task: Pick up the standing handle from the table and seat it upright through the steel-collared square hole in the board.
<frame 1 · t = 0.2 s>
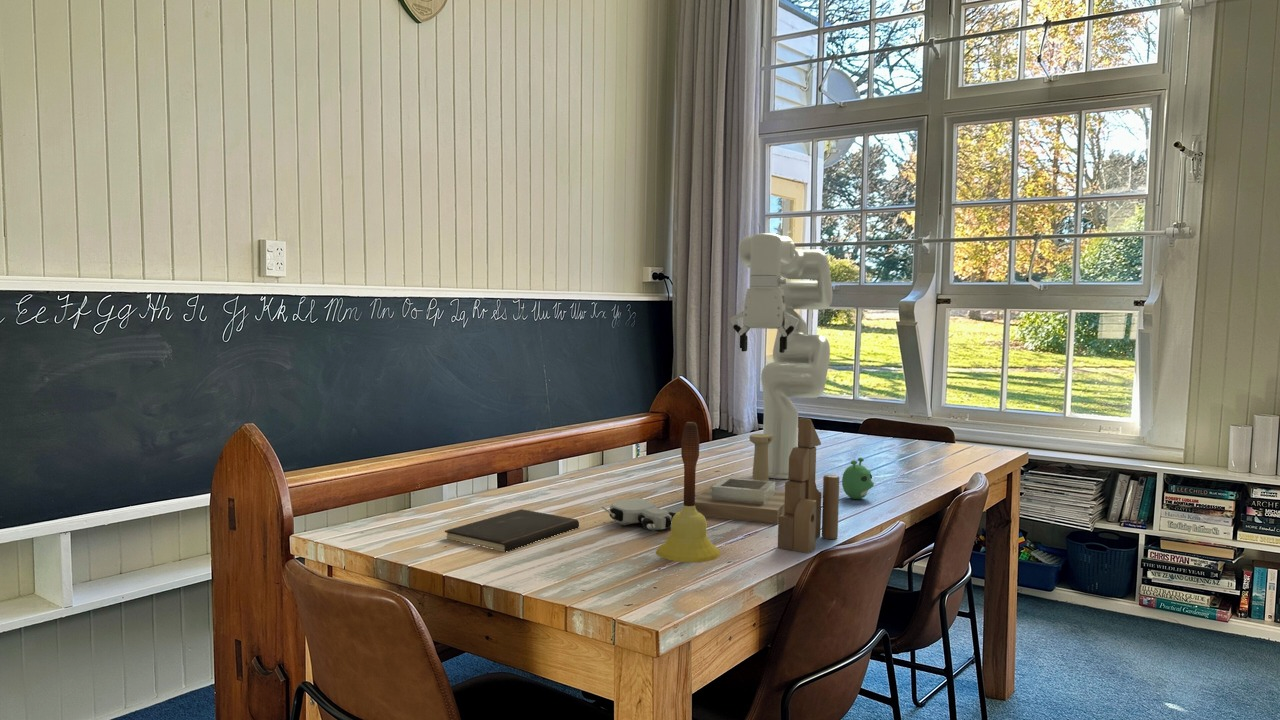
hand: (763, 351, 221), 36 cm above the table, tool pointing down, fingers open, 9 cm apart
board: (743, 509, 204), on the table
handbell: (688, 553, 168), on the table
hardcover book: (513, 537, 180), on the table
collar: (743, 490, 204), on the board, point 4 cm above the table
alien toy: (857, 499, 217), on the table
handle: (760, 496, 220), on the table
wooden toy: (809, 543, 177), on the table
robot toy: (643, 527, 188), on the table
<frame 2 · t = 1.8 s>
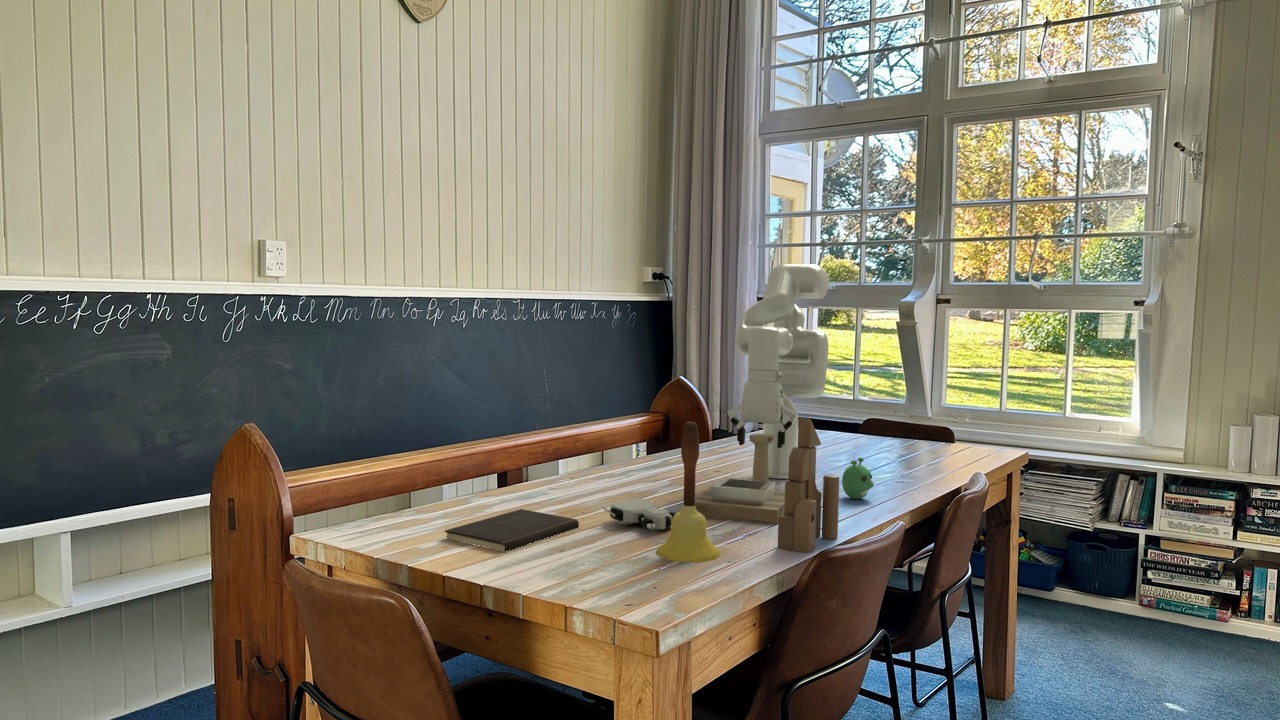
hand: (760, 446, 218), 12 cm above the table, tool pointing down, fingers open, 9 cm apart
nothing on the table moved.
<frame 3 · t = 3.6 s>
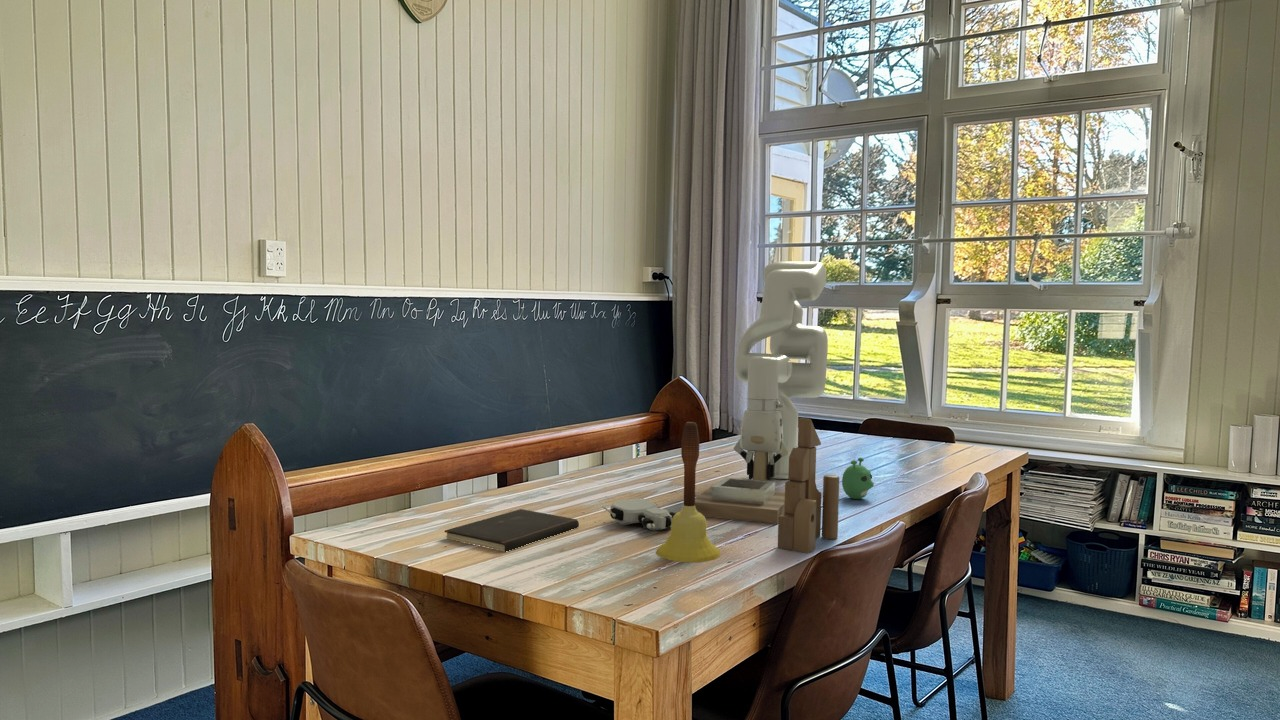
hand: (760, 478, 220), 4 cm above the table, tool pointing down, fingers closed on handle, 4 cm apart
handle: (760, 496, 220), on the table, touching gripper
everything else where it was.
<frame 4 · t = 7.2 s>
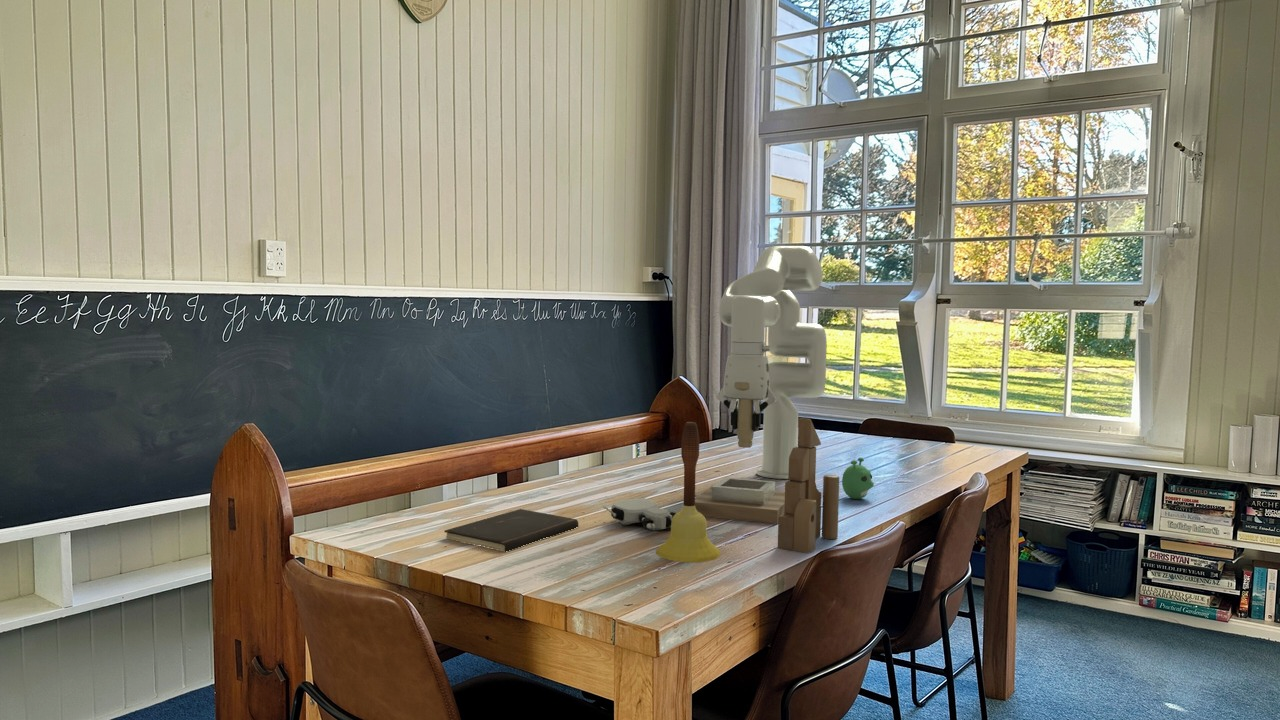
hand: (745, 428, 203), 19 cm above the table, tool pointing down, fingers closed on handle, 4 cm apart
handle: (745, 447, 203), point 14 cm above the table, touching gripper
everything else where it was.
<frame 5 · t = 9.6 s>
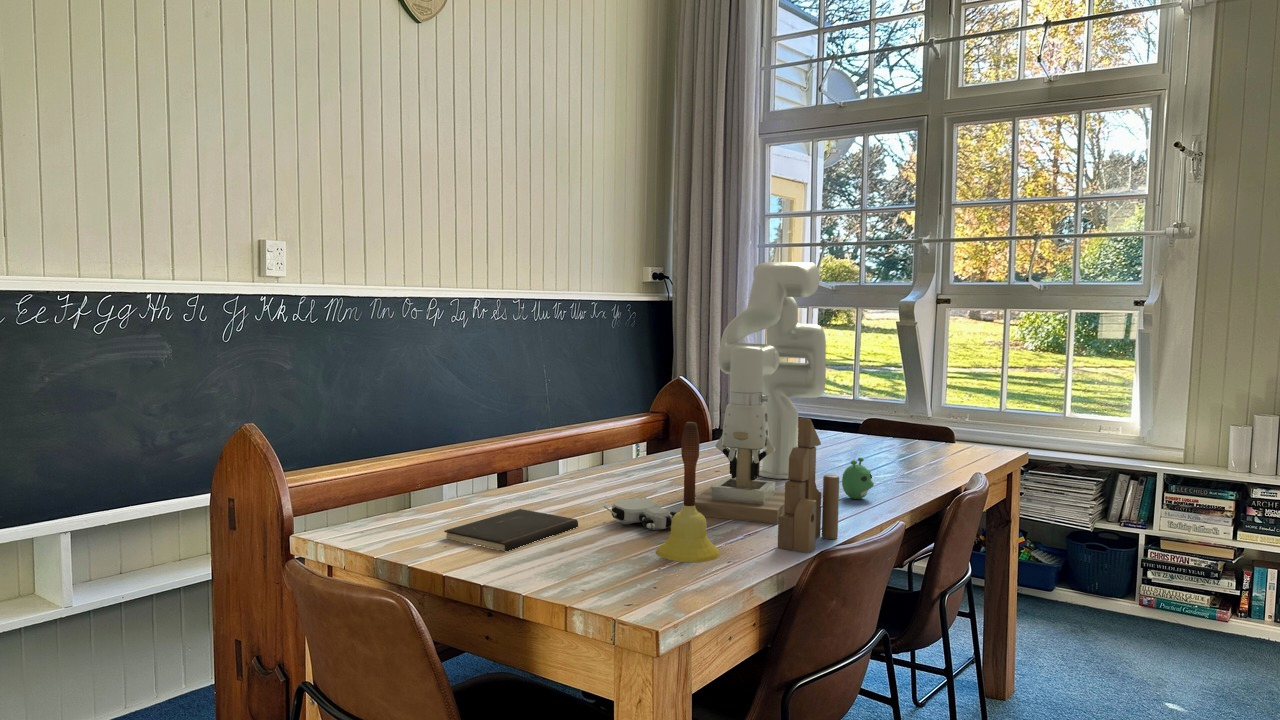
hand: (744, 477, 204), 7 cm above the table, tool pointing down, fingers closed on handle, 4 cm apart
handle: (743, 496, 204), point 3 cm above the table, touching gripper
everything else where it was.
when the fingers open (7 cm above the table, at t = 10.9 s): handle drops 2 cm, resting in board.
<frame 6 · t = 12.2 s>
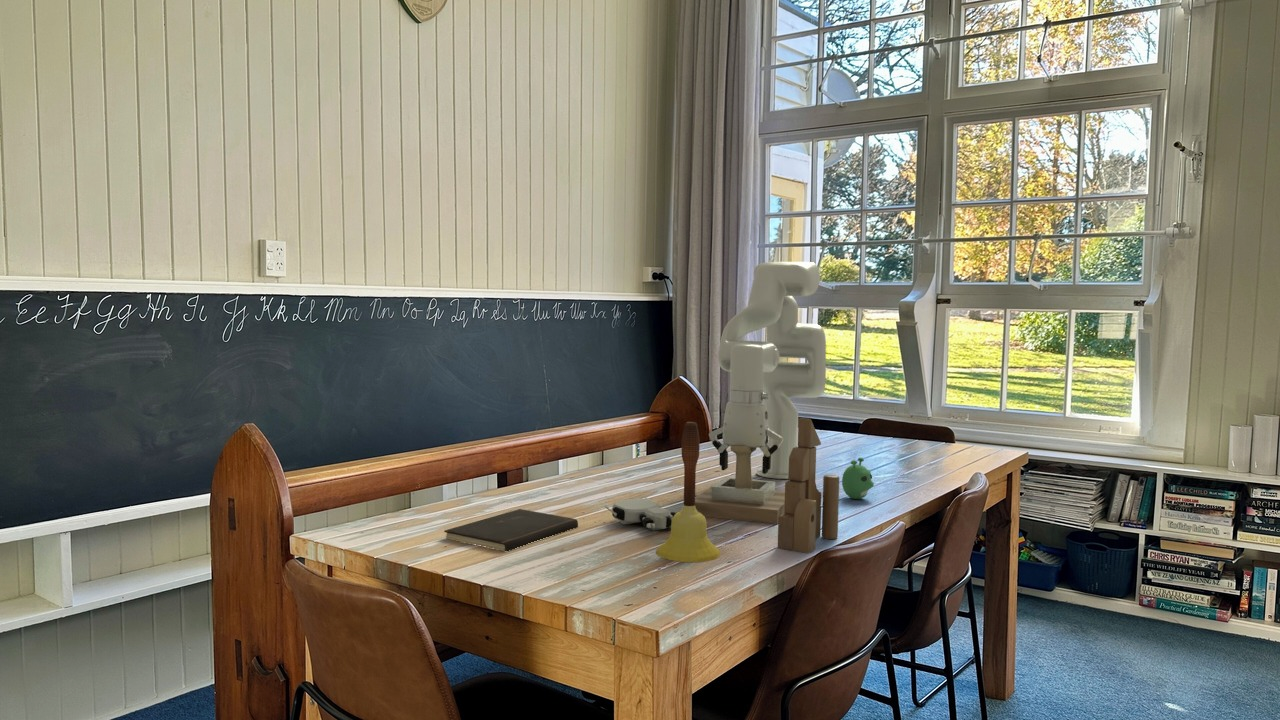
hand: (744, 470, 204), 9 cm above the table, tool pointing down, fingers open, 9 cm apart
handle: (743, 510, 204), resting in board
everything else where it was.
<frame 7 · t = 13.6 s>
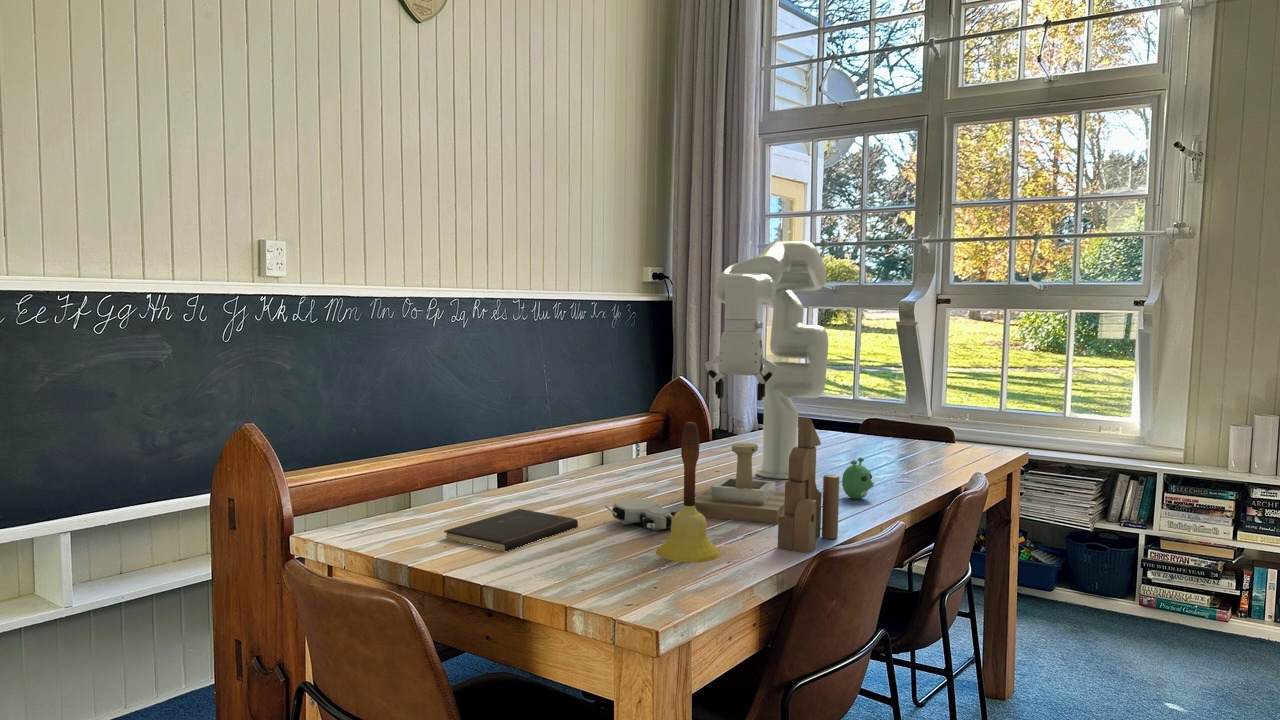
hand: (740, 398, 209), 25 cm above the table, tool pointing down, fingers open, 9 cm apart
nothing on the table moved.
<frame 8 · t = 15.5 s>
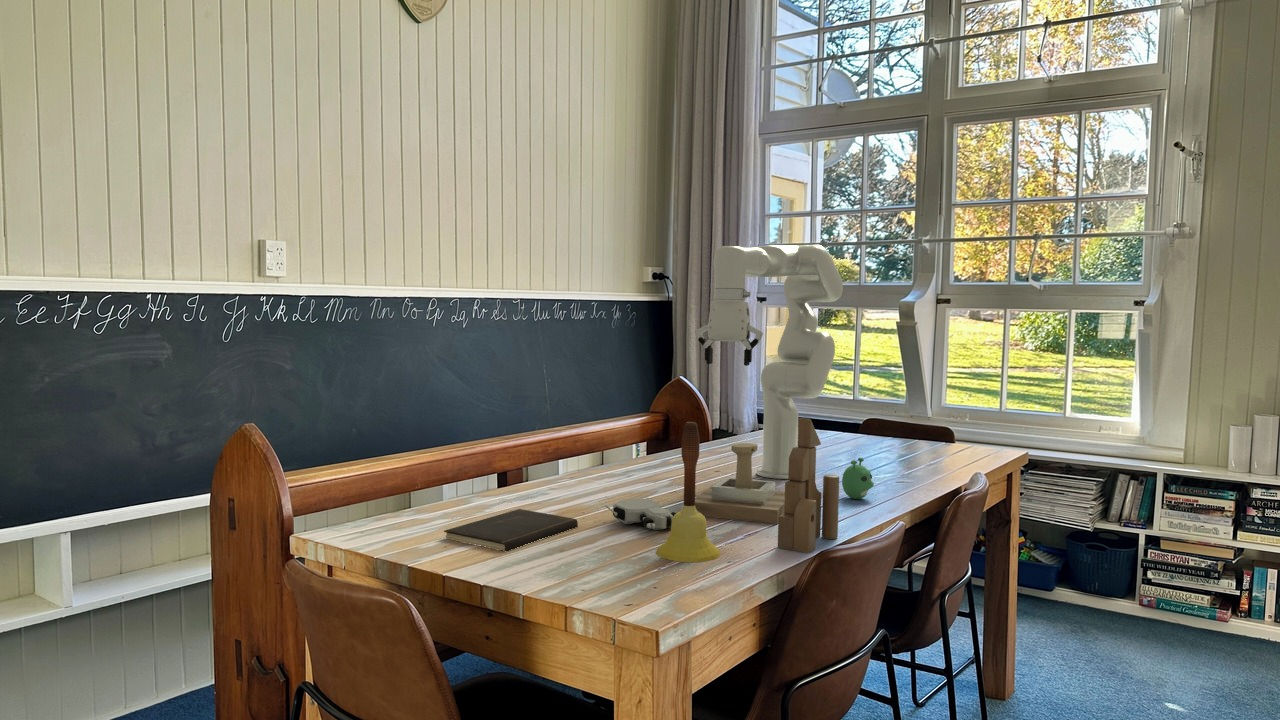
hand: (727, 364, 221), 32 cm above the table, tool pointing down, fingers open, 9 cm apart
nothing on the table moved.
at the end: handle 0.2 cm off-centre on the board, point 0.0 cm above the board's base; handle tilted 0°; the gripper is holding nothing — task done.
